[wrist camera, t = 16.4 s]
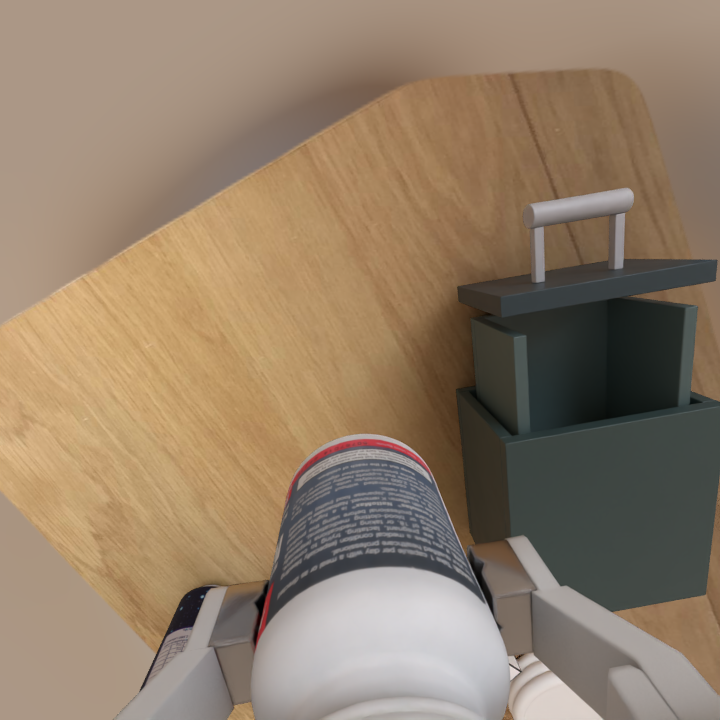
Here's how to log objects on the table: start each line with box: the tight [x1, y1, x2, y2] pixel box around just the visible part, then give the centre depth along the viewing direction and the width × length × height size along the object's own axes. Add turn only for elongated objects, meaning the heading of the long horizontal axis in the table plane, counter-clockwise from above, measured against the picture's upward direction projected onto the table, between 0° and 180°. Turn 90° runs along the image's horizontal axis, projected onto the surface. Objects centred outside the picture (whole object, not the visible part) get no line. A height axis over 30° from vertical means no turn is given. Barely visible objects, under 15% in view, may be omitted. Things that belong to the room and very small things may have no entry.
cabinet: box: [456, 386, 720, 612], centre depth 29 cm, size 15×14×10 cm
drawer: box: [457, 188, 717, 436], centre depth 26 cm, size 18×12×8 cm
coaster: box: [508, 653, 604, 720], centre depth 39 cm, size 10×10×4 cm
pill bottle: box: [251, 434, 510, 720], centre depth 9 cm, size 5×5×9 cm
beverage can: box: [139, 585, 222, 692], centre depth 30 cm, size 6×6×12 cm
